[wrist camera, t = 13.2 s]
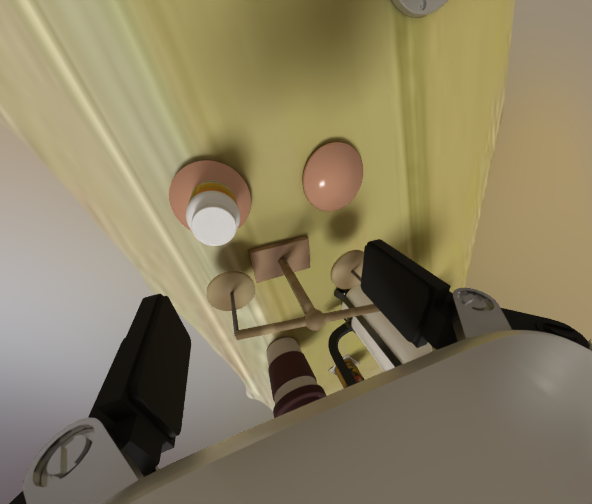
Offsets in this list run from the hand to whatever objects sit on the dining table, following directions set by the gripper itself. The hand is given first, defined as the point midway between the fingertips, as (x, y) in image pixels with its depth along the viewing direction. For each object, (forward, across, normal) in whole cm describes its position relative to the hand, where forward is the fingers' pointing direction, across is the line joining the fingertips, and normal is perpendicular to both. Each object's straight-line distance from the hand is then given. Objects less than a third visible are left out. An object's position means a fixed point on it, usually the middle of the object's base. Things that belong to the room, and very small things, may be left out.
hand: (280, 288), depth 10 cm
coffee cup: (+23, -2, +37) cm, 44 cm away
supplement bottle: (+22, +4, +1) cm, 22 cm away
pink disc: (+23, -14, +1) cm, 27 cm away
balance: (+23, -4, +13) cm, 27 cm away
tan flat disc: (+23, +4, +1) cm, 23 cm away
